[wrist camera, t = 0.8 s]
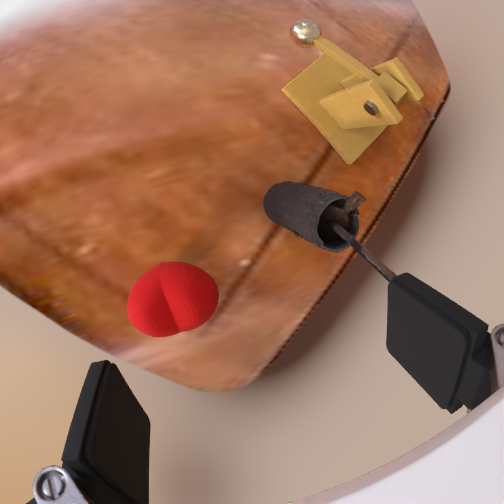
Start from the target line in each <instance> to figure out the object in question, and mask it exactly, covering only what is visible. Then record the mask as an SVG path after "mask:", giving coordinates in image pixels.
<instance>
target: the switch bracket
mask: <svg viewBox="0 0 504 504" xmlns="http://www.w3.org/2000/svg"><path fill="white" fill-rule="evenodd" d="M368 69H370V70H371V71H372V72H374V73H375V74H376V75H377V76H380V75H381V74H382V73H383V72H384V71H385V72H387V73H388V74H389V75H390V76H392V77H393V78H394V79H395V80H396V81H398V82H399V83H400V84H401V85H402V86H403V87H405V88H406V89H407V90H408V92H407V93H406V94H405V96H404V97H403V99H402V100H401V101H400V103H405V102H411V101H418V100H420V99H421V98H422V97H423V96H424V94H423V92H422V91H421V89H420V88H419V86H418V85H417V84H416V82H415V81H414V79H413V78H412V76H411V75H410V74H409V72H408V71H407V69H406V68H405V67H404V65H403V64H402V63H401V61H400V60H399V59H398V58H395V59H392V60H390V61H387V62H384V63H381V64H379V65H376V66H374V67H371V68H368ZM281 91H282V92H283V93H284V94H285V95H286V96H287V97H288V98H289V99H290V100H291V101H292V102H293V103H294V104H295V105H296V106H297V107H298V108H299V109H300V111H301V112H302V113H303V114H304V115H305V116H306V117H307V118H308V119H309V120H310V121H311V123H312V124H313V125H314V126H315V127H316V128H317V129H318V130H319V132H320V133H321V134H322V135H323V136H324V137H325V138H326V140H327V141H328V142H329V143H330V144H331V145H332V147H333V148H334V149H335V150H336V151H337V153H338V154H339V155H340V156H341V157H342V159H343V160H344V161H345V162H346V164H352V163H353V162H354V161H355V160H356V159H357V158H358V157H359V156H360V155H361V154H362V153H363V152H364V151H365V150H366V148H367V147H368V146H369V145H370V144H371V143H372V142H373V141H374V140H375V139H376V138H377V137H378V136H379V135H380V134H381V132H382V131H383V130H384V129H385V128H386V127H387V126H388V125H394V124H398V123H399V122H400V121H401V120H402V119H403V117H402V115H401V114H400V113H399V111H398V110H397V108H396V107H395V105H394V104H393V103H392V101H391V100H390V98H389V97H388V96H387V94H386V93H385V92H384V90H383V89H382V88H381V86H380V85H379V84H378V83H377V81H376V80H375V79H372V80H369V81H366V82H363V81H362V80H361V79H360V78H358V77H357V76H356V75H354V74H353V73H352V72H351V71H349V70H348V69H346V68H345V67H344V66H342V65H341V64H340V63H338V62H337V61H335V60H334V59H333V58H331V57H330V56H328V55H327V54H325V53H324V54H323V55H322V56H320V57H319V58H318V59H317V60H316V61H314V62H313V63H312V64H311V65H309V66H308V67H307V68H306V69H305V70H303V71H302V72H301V73H300V74H299V75H297V76H296V77H295V78H294V79H293V80H292V81H290V82H289V83H288V84H287V85H286V86H285V87H284V88H282V89H281Z"/></svg>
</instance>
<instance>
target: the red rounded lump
mask: <svg viewBox="0 0 504 504" xmlns="http://www.w3.org/2000/svg"><path fill="white" fill-rule="evenodd" d="M218 298H219V292H218V287H217V285H216V283H215V281H214V280H213V278H212V277H211V276H210V275H209V274H208V273H206V272H205V271H203V270H202V269H200V268H198V267H196V266H193V265H190V264H186V263H180V262H163V263H160V264H158V265H156V266H154V267H153V268H151V269H150V270H149V271H147V272H146V273H145V274H144V275H143V276H142V277H141V278H140V279H139V280H138V281H137V282H136V283H135V285H134V286H133V288H132V290H131V292H130V294H129V297H128V301H127V314H128V317H129V320H130V321H131V323H132V324H133V326H134V327H135V328H137V329H138V330H139V331H140V332H142V333H144V334H146V335H149V336H153V337H167V336H171V335H175V334H177V333H180V332H182V331H189V330H192V329H195V328H197V327H199V326H201V325H203V324H204V323H205V322H206V321H207V320H209V319H210V317H211V316H212V314H213V313H214V312H215V309H216V307H217V304H218Z"/></svg>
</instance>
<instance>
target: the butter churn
mask: <svg viewBox="0 0 504 504" xmlns="http://www.w3.org/2000/svg"><path fill="white" fill-rule="evenodd" d="M365 200H366V199H365V197H364V196H363V195H361V194H360V193H359V192H357V191H354V192H353V193H352V194H351V195H350V197H349V198H348V197H346V196H344V195H341V194H339V193H337V192H334V191H330V190H327V189H322V188H319V187H314V186H306V185H304V184H302V183H293V182H282V183H280V184H275V185H273V186H272V187H271V188H270V189H269V190H268V192H267V194H266V195H265V198H264V208H265V212H266V214H267V216H268V217H269V218H270V219H271V220H272V221H273V222H275V223H277V224H279V225H281V226H283V227H285V228H287V229H288V230H290V231H292V232H293V233H294V234H295V236H296V237H297V236H299V237H302V238H304V239H305V240H307V241H309V242H310V243H312V244H314V245H316V246H318V247H320V248H322V249H324V250H328V251H331V252H339V251H342V250H344V249H346V248H348V247H349V246H352V247H353V248H354V249H355V250H356V251H357V252H358V253H359V254H360V255H361V256H362V257H364V258H365V259H366V260H367V261H368V262H369V263H370V264H371V265H372V266H373V267H374V268H375V269H376V270H377V271H378V272H379V273H380V274H381V275H382V276H383V277H384V278H385V279H386V280H388V282H389V283H391V279H392V278H393V277H395V276H397V275H396V274H395V273H394V272H392V271H391V270H390V269H389V268H388V267H386V266H385V265H384V264H383V263H382V262H381V261H380V260H379V259H378V258H377V257H376V256H374V255H373V254H372V253H371V252H370V251H369V250H368V249H367V248H366V247H364V246H363V245H362V244H361V243H360V242H359V241H357V240H356V239H355V238H356V236H357V233H358V230H359V221H358V215H359V211H358V210H357V207H358V206H359V205H360V204H363V203H364V202H365Z"/></svg>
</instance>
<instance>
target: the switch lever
mask: <svg viewBox="0 0 504 504" xmlns="http://www.w3.org/2000/svg"><path fill="white" fill-rule="evenodd" d="M290 37H291V39H292V41H293V42H294V43H295V44H297V45H298V46H301V47H312V46H315V47H316V48H318V49H319V50H321V51H322V52H324V53H325V54H327V55H328V56H330V57H331V58H333V59H334V60H335V61H337V62H338V63H340V64H341V65H342V66H344V67H345V68H346V69H348V70H349V71H351V72H352V73H353V74H354V75H356V76H357V77H358V78H360V79H361V80H362V81H363V82H366V81H369V80H372V79H375V80H376V81H377V83H378V84H379V85H380V86H381V88H382V89H383V90H384V92H385V93H386V94H387V96H388V97H389V98H390V100H391V101H392V103H393V104H394V105H395V107H396V106H397V105H398V104H399V103H400V101H401V100H402V99H403V97H404V96H405V94H406V93H407V92H408V90H407V89H406V88H405V87H403V86H402V85H401V84H400V83H399V82H398V81H396V80H395V79H394V78H393V77H392V76H390V75H389V74H388V73H387V72H385V71H384V72H383V73H382V74H381V75H380V76H377V75H376V74H375V73H374V72H372V71H371V70H370V69H368V68H367V67H366V66H365V65H363V64H362V63H361V62H359V61H358V60H356V59H355V58H354V57H352V56H351V55H349V54H348V53H347V52H345V51H344V50H342V49H341V48H339V47H338V46H336V45H335V44H333V43H332V42H330V41H329V40H327V39H326V38H324V37H323V36H322V32H321V29H320V27H319V26H318V25H317V24H316V23H315V22H313V21H311V20H307V19H302V20H298V21H296V22H295V23H294V24H293V25H292V26H291V28H290Z"/></svg>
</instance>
